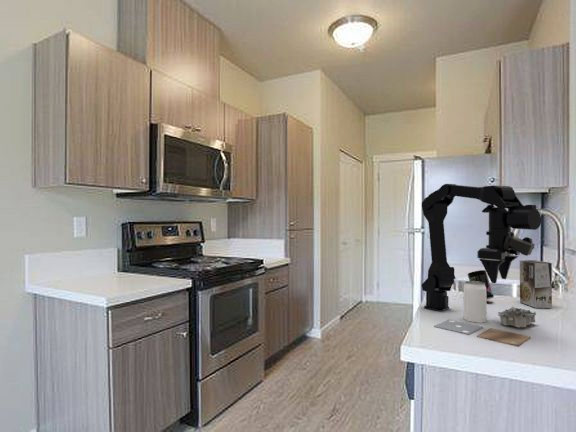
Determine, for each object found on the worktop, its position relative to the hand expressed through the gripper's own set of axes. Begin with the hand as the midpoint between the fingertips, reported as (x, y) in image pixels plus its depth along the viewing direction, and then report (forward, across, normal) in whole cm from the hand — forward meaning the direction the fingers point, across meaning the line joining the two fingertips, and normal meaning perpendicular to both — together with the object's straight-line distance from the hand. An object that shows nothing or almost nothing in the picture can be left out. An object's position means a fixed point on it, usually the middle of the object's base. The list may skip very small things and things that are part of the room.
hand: (499, 280), depth 108 cm
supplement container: (+14, +32, +16) cm, 39 cm away
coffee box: (+14, +39, -1) cm, 42 cm away
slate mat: (+14, -9, +8) cm, 19 cm away
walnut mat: (+14, -10, -4) cm, 17 cm away
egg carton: (+15, +7, -6) cm, 17 cm away
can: (+14, +3, +8) cm, 16 cm away
